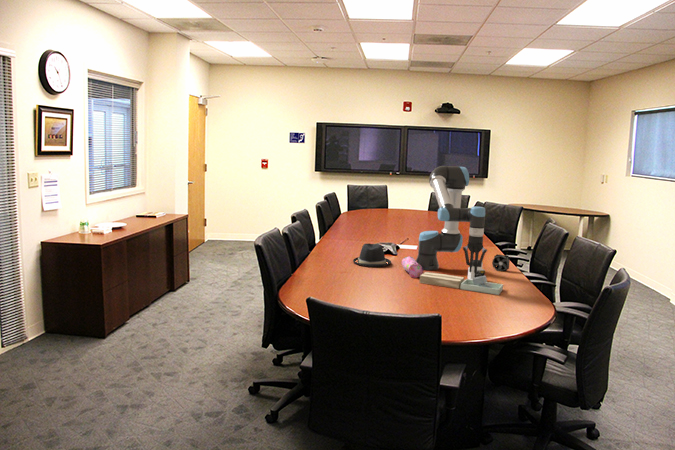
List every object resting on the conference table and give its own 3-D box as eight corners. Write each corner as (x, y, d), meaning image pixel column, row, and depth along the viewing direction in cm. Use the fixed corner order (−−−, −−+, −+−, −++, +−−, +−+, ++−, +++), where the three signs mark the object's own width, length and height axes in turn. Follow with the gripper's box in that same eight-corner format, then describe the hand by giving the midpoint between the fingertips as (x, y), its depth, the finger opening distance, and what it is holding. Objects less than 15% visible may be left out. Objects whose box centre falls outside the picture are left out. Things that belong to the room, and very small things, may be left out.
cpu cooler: (491, 270, 326) (492, 254, 325) (493, 268, 331) (494, 253, 330) (508, 272, 322) (509, 256, 320) (509, 270, 327) (511, 255, 325)
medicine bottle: (472, 282, 293) (474, 261, 291) (467, 279, 300) (468, 258, 298) (484, 282, 294) (486, 261, 293) (478, 278, 301) (480, 258, 300)
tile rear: (476, 282, 281) (474, 277, 281) (487, 280, 278) (485, 275, 278) (473, 285, 275) (472, 279, 276) (484, 283, 273) (483, 277, 273)
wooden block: (425, 278, 297) (426, 271, 297) (463, 284, 287) (464, 277, 287) (419, 282, 286) (419, 275, 286) (458, 288, 277) (459, 281, 276)
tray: (465, 284, 287) (466, 278, 287) (502, 289, 279) (503, 284, 278) (460, 289, 276) (460, 283, 276) (498, 295, 267) (499, 289, 267)
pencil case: (423, 278, 297) (424, 263, 296) (408, 278, 297) (409, 262, 295) (415, 269, 319) (416, 255, 317) (400, 269, 318) (401, 255, 317)
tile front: (492, 283, 277) (491, 288, 278) (481, 281, 280) (480, 287, 280) (490, 285, 272) (489, 291, 272) (478, 284, 275) (478, 289, 275)
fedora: (390, 260, 346) (391, 241, 344) (391, 269, 319) (392, 249, 317) (353, 258, 347) (354, 239, 346) (352, 266, 320) (353, 247, 319)
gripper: (462, 235, 275) (458, 277, 278) (487, 237, 269) (483, 281, 273) (465, 233, 282) (462, 275, 285) (489, 236, 276) (486, 278, 279)
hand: (472, 278), depth 279 cm, fingers closed
